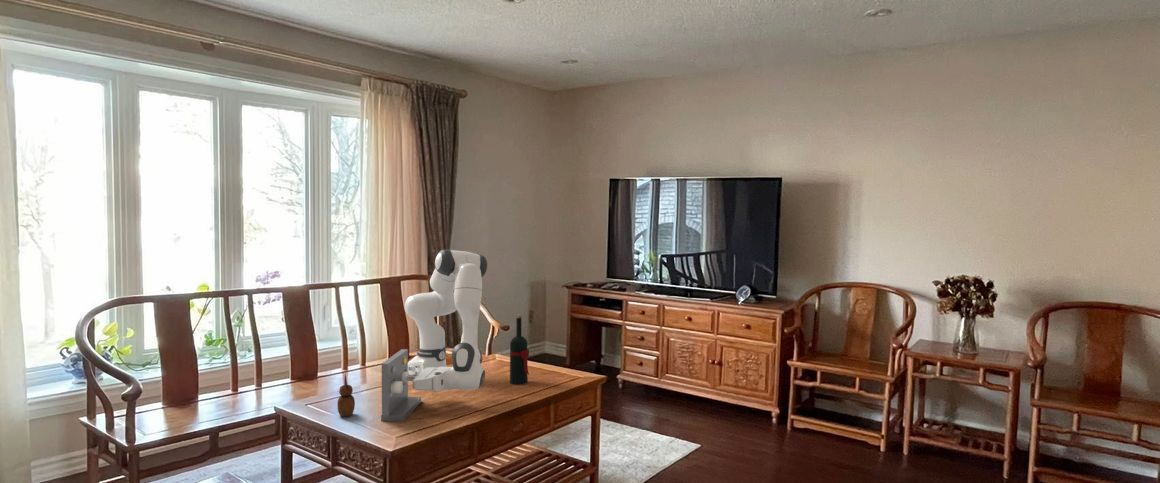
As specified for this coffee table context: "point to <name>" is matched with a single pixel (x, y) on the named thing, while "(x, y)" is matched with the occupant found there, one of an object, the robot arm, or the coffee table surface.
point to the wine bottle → (518, 357)
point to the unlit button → (396, 387)
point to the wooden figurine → (346, 400)
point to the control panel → (396, 404)
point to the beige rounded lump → (405, 377)
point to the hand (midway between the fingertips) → (407, 377)
